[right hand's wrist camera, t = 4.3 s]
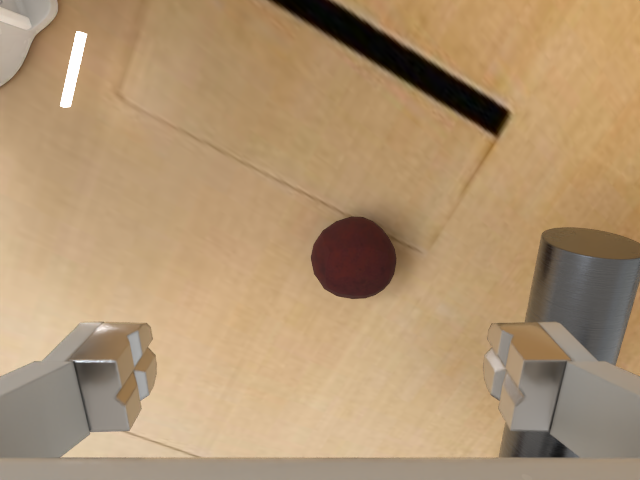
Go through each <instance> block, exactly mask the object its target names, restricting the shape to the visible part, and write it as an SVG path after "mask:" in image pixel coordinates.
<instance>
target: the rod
mask: <svg viewBox="0 0 640 480" xmlns="http://www.w3.org/2000/svg"><path fill="white" fill-rule="evenodd" d="M639 282H640V243H638V242H636V241H634V240H631V239H629V238H626V237H623V236H620V235H617V234H613V233H609V232H604V231H599V230H593V229H585V228H569V227H567V228H554V229H549V230H546V231H544V232H543V233H542V235H541V240H540V245H539V251H538V256H537V261H536V266H535V271H534V277H533V282H532V287H531V292H530V297H529V303H528V308H527V313H526V318H525V323H527V322H558V323H560V324H562V325H563V326H564V327H565V328H566V329H567V330H568V331H569V332H570V333H571V334H572V335H573V336H574V337H575V338H576V339H577V340H578V341H579V342H580V343H581V344H582V345H583V346H584V347H585V348H586V349H587V350H588V351H589V352H590V353H591V354H592V355H593V356H594V357H595V358H596V359H597V360H598V361H606V362H608V363H610V364H613V365H616V362H617V358H618V355H619V351H620V348H621V344H622V341H623V338H624V334H625V331H626V327H627V324H628V320H629V317H630V313H631V310H632V306H633V303H634V299H635V296H636V292H637V289H638V286H639ZM499 458H580V457H579V456H577V455H576V454H575V453H574V452H572V451H571V450H570V449H569V448H567V447H566V446H565V445H563V444H562V443H561V442H560V441H558V440H557V439H556V438H555V437H553V436H552V435H551V434H550V432H530V431H510V429H509V427H508V425H507V424H506V422H505V427H504V432H503V437H502V443H501V448H500V453H499Z"/></svg>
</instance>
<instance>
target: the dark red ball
mask: <svg viewBox="0 0 640 480" xmlns="http://www.w3.org/2000/svg"><path fill="white" fill-rule="evenodd" d="M311 261H312V266H313V271H314V274H315V276H316V277H317V278H318V280H319V281H320V283H321V285H322V286H323V288H324V289H326V290H327V291H329V292H331V293H333V294H334V295H336V296H339V297H345V298H351V299H359V298H367V297H370V296H374V295H376V294H377V293H379V292H381V291H382V290H383V289H384V288H385V287H386V286H387V285H388V284H389V283H390V281H391V279H392V277H393V275H394V271H395V265H396V254H395V249H394V247H393V245H392V243H391V241H390V239H389V237H388V236H387V235H386V233H385V232H384V231H383V230H382V229H381V228H380V227H379V226H378V225H377V224H375V223H374V222H373V221H371V220H368V219H366V218H363V217H349V218H346V219H342V220H339V221H336V222H335V223H333V224H332V225H330V226H329V227H327V228H326V229H325V230H323V231H322V233H321V234H320V236H319V237H318V239H317V240H316V242H315V243H314V246H313V250H312V255H311Z"/></svg>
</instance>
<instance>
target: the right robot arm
mask: <svg viewBox="0 0 640 480" xmlns="http://www.w3.org/2000/svg"><path fill="white" fill-rule="evenodd" d="M57 12H58V2H57V0H0V86H2V85H3V84H5V83H6V82H7V81H9V80H10V79H11V78H12V77H13V76H14V75H15V74H16V72H17V71H18V70H19V68H20V67H21V65H22V64H23V62H24V60H25V58H26V56H27V53H28V51H29V48H30V45H31V43H32V41H33V39H34V37H35V36H36V34H38V33H39V32H40V31H41V30H43V29H44V28H45V27H46V26H47V25H48V24H49V23H50V22H51V21H52V20H53V19H54V18H55V16H56V15H57ZM86 36H87V34H85V33H82V32H76V36H75V41H74V45H73V50H72V54H71V59H70V63H69V68H68V72H67V77H66V82H65V86H64V91H63V95H62V100H61V104H60V106H62V107H70V106H71V102H72V97H73V93H74V88H75V84H76V80H77V75H78V71H79V67H80V62H81V58H82V53H83V49H84V45H85V40H86ZM152 340H153V337H152V332H151V327H150V326H149V325H148V324H147V323H130V322H83V323H80V324H79V325H78V326H77V327H76V328H75V329H74V330H73V331H72V332H71V333H70V334H69V335H68V336H67V337H66V338H65V339H64V340H63V341H62V342H61V343H60V344H59V345H58V346H57V347H56V348H55V349H54V350H53V351H52V352H51V353H50V354H49V355H48V356H47V357H46V358H45V359H43V360H42V361H34V362H32V363H30V364H27V365H25V366H23V367H21V368H18V369H16V370H14V371H12V372H9V373H7V374H5V375H3V376H0V480H640V376H637V375H635V374H633V373H631V372H628V371H626V370H624V369H622V368H619V367H617V366H615V365H613V364H610V363H608V362H606V361H598V360H597V359H596V358H595V357H594V356H593V355H592V354H591V353H590V352H589V351H588V350H587V349H586V348H585V347H584V346H583V345H582V344H581V343H580V342H579V341H578V340H577V339H576V338H575V337H574V336H573V335H572V334H571V333H570V332H569V331H568V330H567V329H566V328H565V327H564V326H563V325H562V324H560V323H558V322H527V323H494V324H491V326H490V328H489V331H488V337H487V340H488V341H489V343H490V344H491V346H492V348H491V349H490V350H489V351H488V352H487V353H486V354H485V356H484V364H483V371H484V380H485V383H486V386H487V389H488V390H489V392H490V394H491V395H492V396H493V397H495V398H496V399H498V400H499V401H500V402H499V408H498V409H499V411H500V413H501V415H502V416H503V418H504V420H505V422H506V424H507V425H508V427H509V429H510V431H530V432H550V434H551V435H552V436H553V437H555V438H556V439H557V440H558V441H560V442H561V443H562V444H563V445H565V446H566V447H567V448H569V449H570V450H571V451H572V452H574V453H575V454H576V455H577V456H579V457H580V458H60V457H61V456H63V455H64V454H65V453H66V452H68V451H69V450H70V449H72V448H73V447H74V446H75V445H77V444H78V443H79V442H81V441H82V440H83V439H84V438H86V437H87V436H88V435H89V434H90V432H110V431H130V429H131V427H132V425H133V424H134V422H135V420H136V418H137V416H138V415H139V413H140V411H141V409H142V408H141V402H140V401H141V400H142V399H144V398H145V397H147V396H148V395H149V394H150V392H151V390H152V388H153V386H154V383H155V378H156V374H157V363H156V356H155V354H154V353H153V352H152V351H151V350H150V349H149V348H148V346H149V344H150V343H151V341H152Z"/></svg>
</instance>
